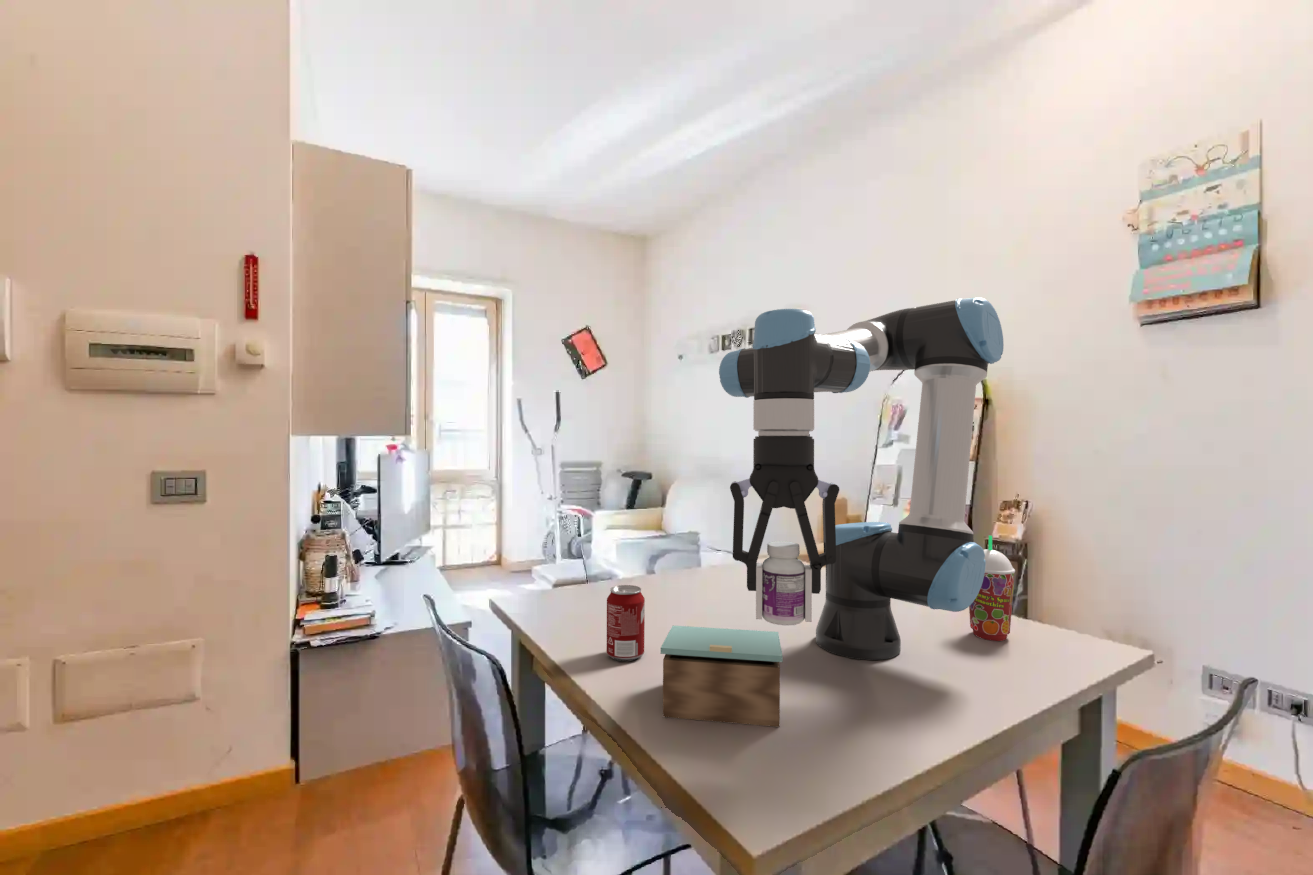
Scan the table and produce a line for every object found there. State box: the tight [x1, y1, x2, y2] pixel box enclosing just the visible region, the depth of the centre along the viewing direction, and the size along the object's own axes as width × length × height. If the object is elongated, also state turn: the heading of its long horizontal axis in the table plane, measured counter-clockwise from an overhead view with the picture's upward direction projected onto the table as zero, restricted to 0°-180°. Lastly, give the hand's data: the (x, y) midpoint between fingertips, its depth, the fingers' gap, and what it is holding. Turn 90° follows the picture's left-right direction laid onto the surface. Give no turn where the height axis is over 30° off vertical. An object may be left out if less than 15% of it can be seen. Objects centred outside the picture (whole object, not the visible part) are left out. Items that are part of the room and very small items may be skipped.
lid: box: [660, 625, 784, 663], centre depth 85 cm, size 17×13×1 cm
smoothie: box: [968, 535, 1016, 642], centre depth 114 cm, size 8×8×20 cm
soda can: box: [605, 584, 646, 662], centre depth 103 cm, size 7×7×12 cm
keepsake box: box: [662, 654, 781, 728], centre depth 85 cm, size 16×12×8 cm
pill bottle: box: [762, 540, 805, 626], centre depth 73 cm, size 5×5×10 cm
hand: (783, 616), depth 73 cm, fingers closed on pill bottle, 5 cm apart
